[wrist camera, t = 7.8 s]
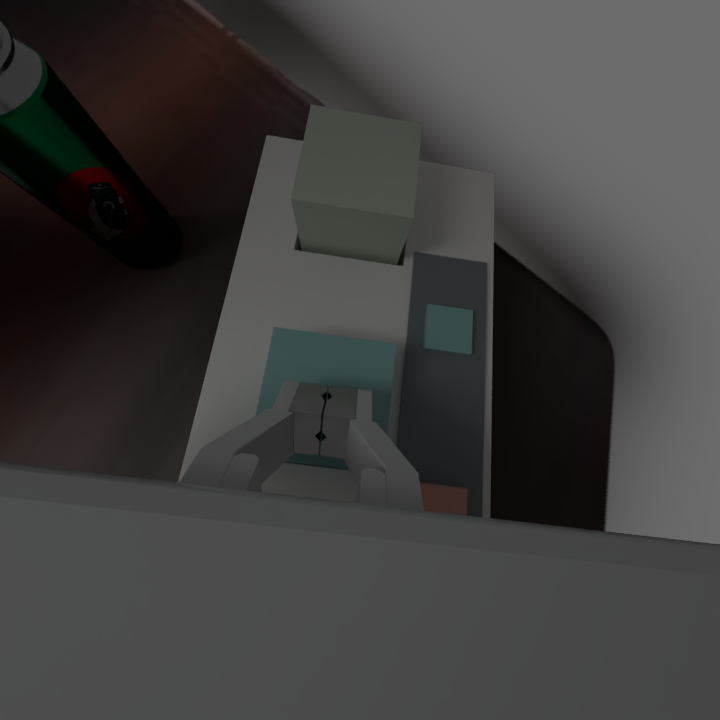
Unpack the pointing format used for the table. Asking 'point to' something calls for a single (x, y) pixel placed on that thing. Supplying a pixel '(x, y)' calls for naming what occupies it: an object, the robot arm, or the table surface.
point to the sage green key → (356, 184)
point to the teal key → (329, 373)
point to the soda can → (75, 163)
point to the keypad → (370, 329)
